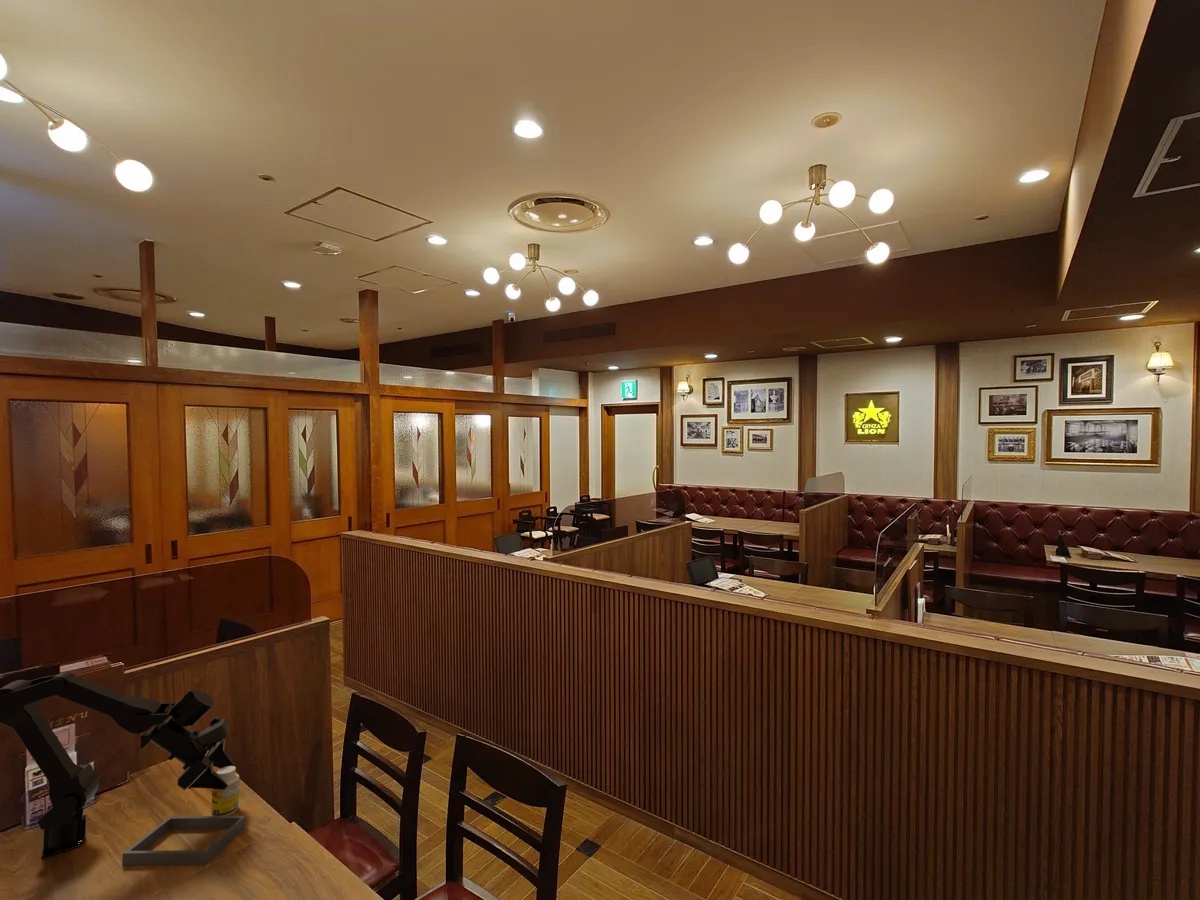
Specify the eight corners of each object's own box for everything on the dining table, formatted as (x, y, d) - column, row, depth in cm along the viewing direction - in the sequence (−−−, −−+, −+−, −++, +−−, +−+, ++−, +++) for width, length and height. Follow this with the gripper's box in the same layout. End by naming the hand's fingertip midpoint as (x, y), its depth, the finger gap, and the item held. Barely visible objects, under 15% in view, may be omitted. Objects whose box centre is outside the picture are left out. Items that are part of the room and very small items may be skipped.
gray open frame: (122, 865, 118) (122, 853, 118) (169, 827, 131) (170, 816, 131) (206, 864, 118) (207, 852, 118) (245, 826, 131) (246, 815, 131)
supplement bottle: (209, 811, 137) (211, 769, 138) (236, 803, 141) (237, 761, 141) (212, 822, 133) (214, 778, 133) (240, 813, 136) (241, 770, 137)
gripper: (196, 727, 128) (250, 767, 131) (216, 699, 145) (264, 734, 149) (152, 770, 124) (209, 809, 128) (178, 735, 141) (228, 771, 145)
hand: (230, 778), depth 137 cm, fingers open, 9 cm apart
